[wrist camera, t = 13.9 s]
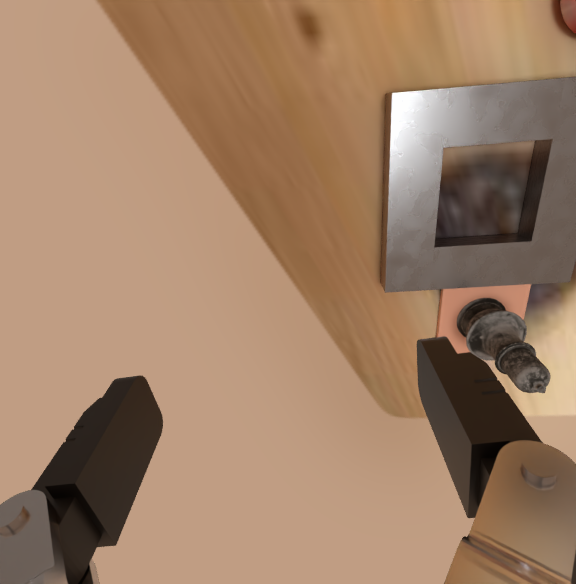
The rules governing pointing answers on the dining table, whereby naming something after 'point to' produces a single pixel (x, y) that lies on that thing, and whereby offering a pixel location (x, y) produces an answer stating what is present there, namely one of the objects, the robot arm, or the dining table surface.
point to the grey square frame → (427, 173)
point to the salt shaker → (502, 343)
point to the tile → (459, 297)
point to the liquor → (569, 13)
